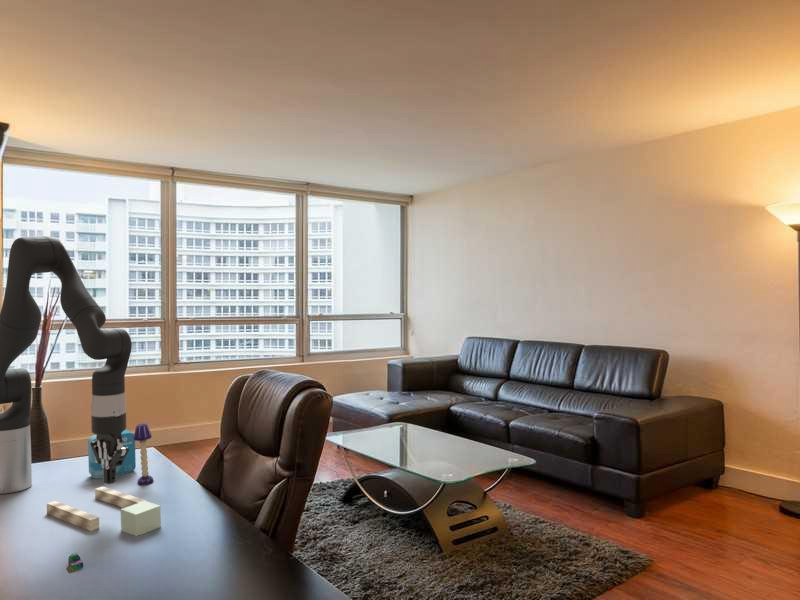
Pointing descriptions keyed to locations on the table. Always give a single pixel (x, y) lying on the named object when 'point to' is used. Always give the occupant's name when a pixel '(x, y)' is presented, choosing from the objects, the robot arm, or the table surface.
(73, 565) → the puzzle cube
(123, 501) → the parallel wooden bars
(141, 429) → the toy lamp
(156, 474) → the table surface
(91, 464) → the data package
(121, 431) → the robot arm
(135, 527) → the sage block
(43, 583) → the table surface
